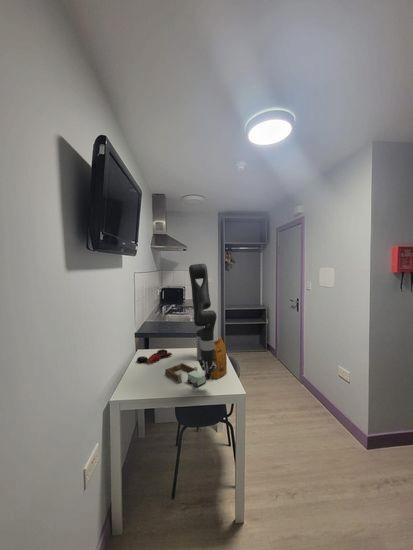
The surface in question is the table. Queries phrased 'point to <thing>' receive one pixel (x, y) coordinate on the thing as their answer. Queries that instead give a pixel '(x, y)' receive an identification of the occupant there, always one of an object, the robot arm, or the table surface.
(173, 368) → the bay
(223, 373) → the coffee package
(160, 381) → the table surface
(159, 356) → the toy motorcycle
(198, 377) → the cart
